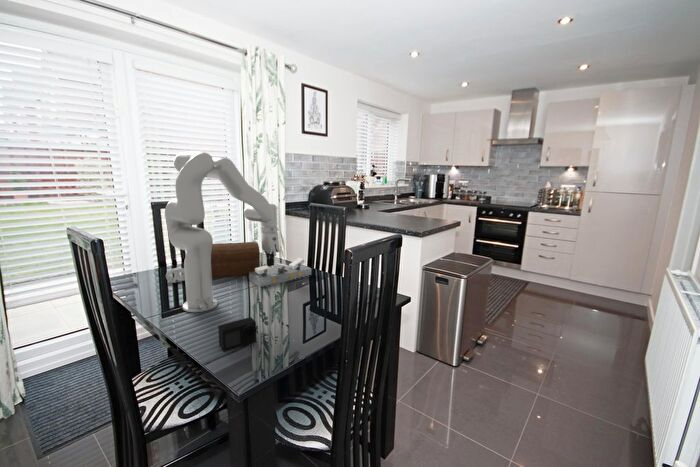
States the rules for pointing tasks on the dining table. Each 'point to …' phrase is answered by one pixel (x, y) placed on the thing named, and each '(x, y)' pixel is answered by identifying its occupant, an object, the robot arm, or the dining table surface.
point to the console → (279, 275)
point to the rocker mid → (281, 266)
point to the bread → (234, 259)
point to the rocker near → (263, 269)
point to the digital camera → (237, 334)
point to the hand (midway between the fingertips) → (270, 265)
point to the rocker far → (296, 263)
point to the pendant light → (175, 275)
